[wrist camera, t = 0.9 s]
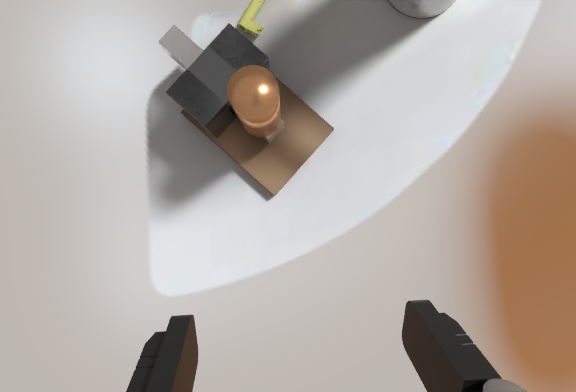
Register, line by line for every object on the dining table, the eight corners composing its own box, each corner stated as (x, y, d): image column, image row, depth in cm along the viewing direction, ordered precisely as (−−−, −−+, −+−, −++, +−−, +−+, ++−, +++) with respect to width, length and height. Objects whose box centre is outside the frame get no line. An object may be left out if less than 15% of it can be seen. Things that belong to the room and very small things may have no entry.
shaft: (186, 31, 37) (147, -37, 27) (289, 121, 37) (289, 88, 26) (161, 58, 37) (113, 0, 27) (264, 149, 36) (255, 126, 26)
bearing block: (237, 49, 38) (229, 23, 33) (270, 78, 38) (267, 57, 33) (183, 109, 38) (165, 92, 33) (217, 138, 38) (204, 126, 32)
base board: (241, 50, 39) (240, 46, 38) (332, 130, 39) (334, 128, 38) (183, 114, 39) (180, 112, 38) (274, 196, 39) (274, 195, 38)
